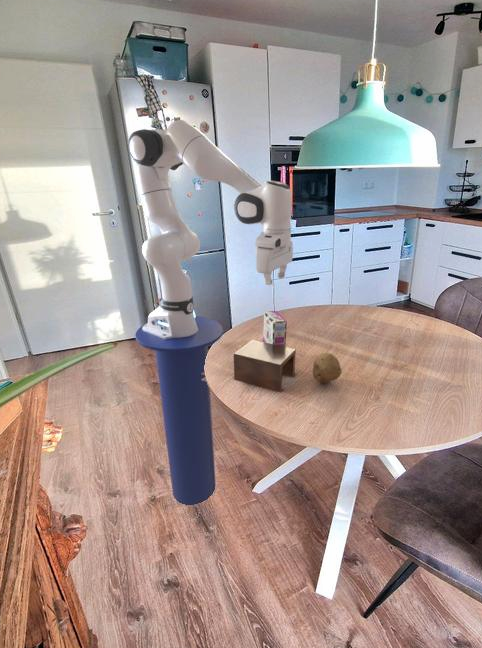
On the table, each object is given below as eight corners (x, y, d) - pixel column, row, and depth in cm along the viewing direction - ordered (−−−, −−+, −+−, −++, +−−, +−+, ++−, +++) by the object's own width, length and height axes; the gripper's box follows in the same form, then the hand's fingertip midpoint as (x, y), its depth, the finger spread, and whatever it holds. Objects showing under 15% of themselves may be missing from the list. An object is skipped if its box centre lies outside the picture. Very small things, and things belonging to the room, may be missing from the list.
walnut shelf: (234, 379, 124) (233, 353, 120) (252, 364, 134) (252, 339, 130) (279, 391, 119) (280, 364, 115) (294, 374, 129) (295, 349, 125)
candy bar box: (285, 365, 135) (287, 321, 128) (272, 367, 133) (273, 322, 126) (275, 351, 144) (276, 310, 137) (262, 353, 142) (262, 311, 135)
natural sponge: (344, 380, 126) (347, 353, 122) (332, 392, 119) (335, 364, 115) (319, 372, 130) (321, 346, 126) (307, 384, 123) (308, 356, 119)
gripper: (281, 232, 130) (279, 272, 136) (252, 241, 113) (252, 287, 119) (298, 234, 128) (296, 275, 134) (271, 243, 111) (270, 290, 117)
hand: (275, 281), depth 126 cm, fingers open, 8 cm apart
